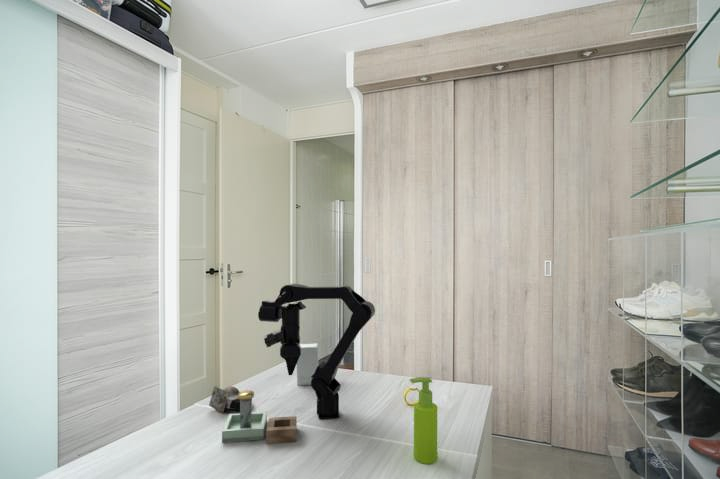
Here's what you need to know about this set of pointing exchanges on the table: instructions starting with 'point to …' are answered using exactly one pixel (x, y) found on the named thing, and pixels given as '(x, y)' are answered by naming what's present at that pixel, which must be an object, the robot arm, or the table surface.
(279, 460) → the table surface
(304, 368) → the skincare box
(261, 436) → the tray
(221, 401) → the caster wheel
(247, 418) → the pin
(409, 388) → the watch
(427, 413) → the soap dispenser
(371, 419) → the table surface
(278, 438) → the socket block
